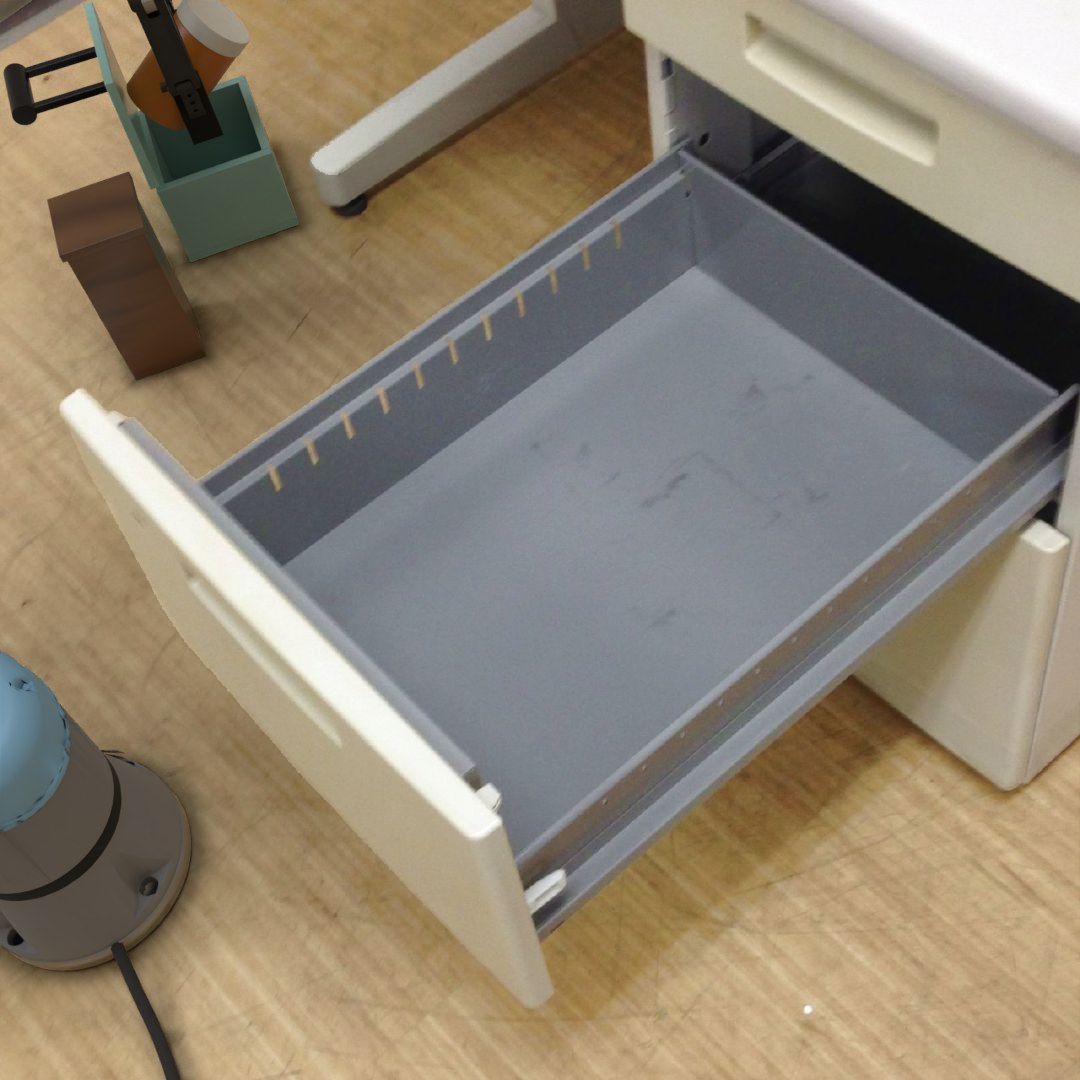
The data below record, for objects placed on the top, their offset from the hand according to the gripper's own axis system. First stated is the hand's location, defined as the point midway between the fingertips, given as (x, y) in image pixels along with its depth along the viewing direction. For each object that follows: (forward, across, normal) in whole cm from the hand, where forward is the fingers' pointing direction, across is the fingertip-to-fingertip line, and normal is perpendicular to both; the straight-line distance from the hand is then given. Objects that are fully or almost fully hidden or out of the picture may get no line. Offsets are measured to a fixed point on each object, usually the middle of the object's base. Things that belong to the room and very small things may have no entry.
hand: (200, 113), depth 135 cm
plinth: (+11, -15, +10) cm, 21 cm away
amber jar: (-2, 0, +3) cm, 4 cm away
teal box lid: (-4, 0, +5) cm, 7 cm away
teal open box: (+11, 0, 0) cm, 11 cm away
